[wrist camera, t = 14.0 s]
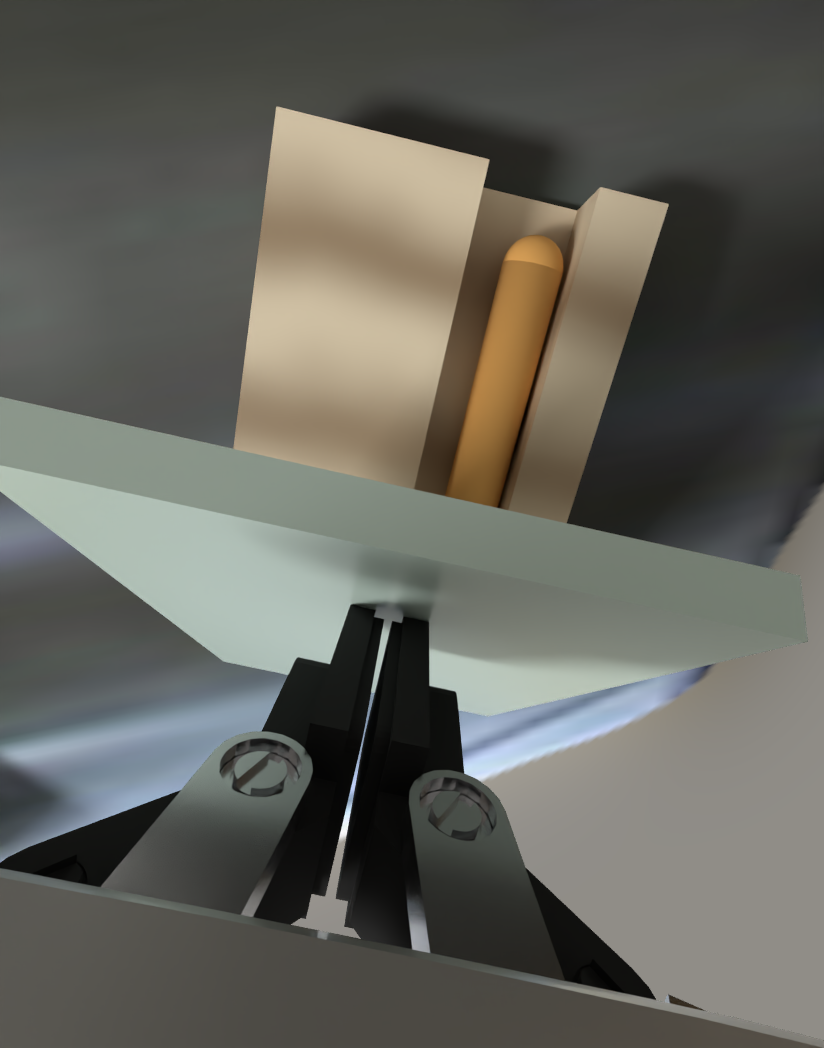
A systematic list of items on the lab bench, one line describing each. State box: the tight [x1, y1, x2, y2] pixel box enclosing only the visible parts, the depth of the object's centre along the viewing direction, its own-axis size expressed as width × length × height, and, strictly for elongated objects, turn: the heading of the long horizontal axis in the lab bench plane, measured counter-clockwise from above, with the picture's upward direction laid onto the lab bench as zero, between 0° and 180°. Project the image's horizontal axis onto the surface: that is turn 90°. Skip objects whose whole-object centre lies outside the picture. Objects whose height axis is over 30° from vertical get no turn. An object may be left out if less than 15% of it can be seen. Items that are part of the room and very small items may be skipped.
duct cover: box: [0, 397, 808, 716], centre depth 16 cm, size 18×12×1 cm
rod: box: [445, 235, 563, 508], centre depth 23 cm, size 14×2×2 cm, turn 167°
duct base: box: [234, 107, 669, 523], centre depth 23 cm, size 20×14×4 cm
